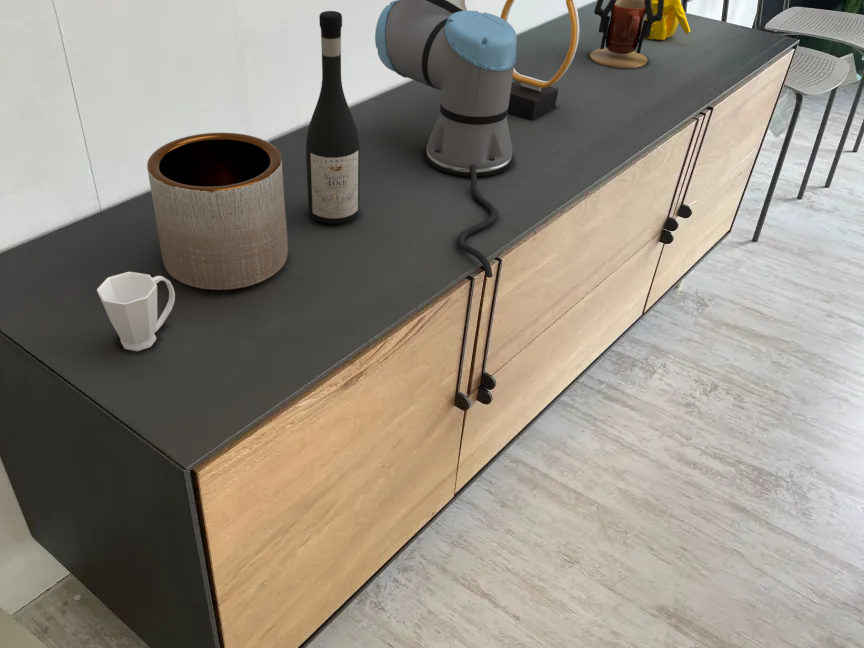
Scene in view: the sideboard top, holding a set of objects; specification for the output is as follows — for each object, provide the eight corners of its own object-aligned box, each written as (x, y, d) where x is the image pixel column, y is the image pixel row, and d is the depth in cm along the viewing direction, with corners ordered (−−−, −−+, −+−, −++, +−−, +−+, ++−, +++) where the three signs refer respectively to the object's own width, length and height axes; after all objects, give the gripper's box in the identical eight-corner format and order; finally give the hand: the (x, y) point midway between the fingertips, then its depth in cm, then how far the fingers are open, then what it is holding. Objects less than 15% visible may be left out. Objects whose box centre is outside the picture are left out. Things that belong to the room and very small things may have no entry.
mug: (597, 43, 185) (606, -3, 178) (634, 44, 185) (644, -3, 178) (608, 60, 176) (618, 12, 169) (647, 61, 176) (658, 13, 169)
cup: (97, 343, 97) (83, 289, 92) (158, 306, 104) (148, 254, 98) (135, 365, 94) (123, 311, 89) (196, 326, 101) (187, 273, 95)
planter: (172, 230, 118) (155, 131, 108) (289, 228, 120) (283, 130, 109) (156, 298, 105) (135, 192, 95) (288, 294, 106) (281, 189, 96)
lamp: (478, 103, 159) (497, -73, 139) (502, 91, 165) (524, -80, 144) (549, 125, 151) (581, -57, 131) (572, 112, 156) (606, -66, 136)
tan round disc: (645, 71, 175) (646, 69, 175) (587, 64, 178) (587, 62, 178) (648, 53, 185) (648, 51, 185) (592, 46, 188) (592, 45, 187)
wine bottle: (362, 225, 121) (364, 21, 101) (311, 228, 120) (303, 23, 100) (355, 200, 127) (355, 3, 107) (306, 203, 126) (298, 5, 106)
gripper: (694, -62, 166) (666, 49, 181) (597, -70, 170) (577, 39, 185) (694, -54, 160) (665, 60, 175) (594, -63, 165) (573, 49, 180)
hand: (620, 49), depth 180 cm, fingers closed on mug, 7 cm apart
